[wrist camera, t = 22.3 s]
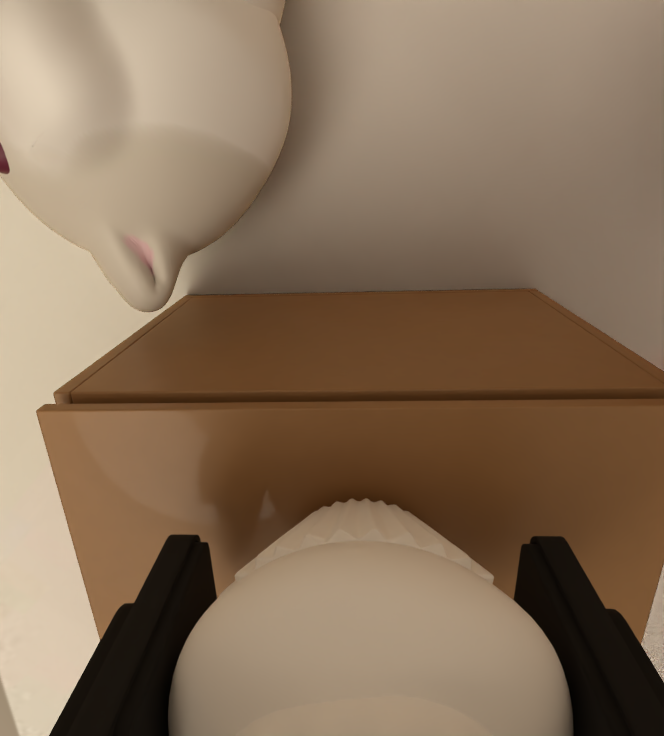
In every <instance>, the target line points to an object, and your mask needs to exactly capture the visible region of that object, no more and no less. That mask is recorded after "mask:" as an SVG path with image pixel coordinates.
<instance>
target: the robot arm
mask: <svg viewBox="0 0 664 736" xmlns="http://www.w3.org/2000/svg"><path fill="white" fill-rule="evenodd" d="M216 600H217V594H216V588H215V581H214V575H213V568H212V561H211V555H210V548H209V544H208V542H201V540H200V537H199V535H172V534H171V535H170V536H168V538H167V539H166V541H165V543H164V545H163V547H162V549H161V551H160V553H159V555H158V557H157V559H156V561H155V563H154V565H153V567H152V569H151V571H150V573H149V575H148V576H147V578H146V580H145V582H144V584H143V586H142V588H141V590H140V592H139V594H138V596H137V598H136V600H135V602H134V603H124V604H123V605H122V606H121V607H119V609H118V610H117V612H116V613H115V615H114V617H113V618H112V620H111V622H110V624H109V626H108V628H107V629H106V631H105V633H104V635H103V637H102V639H101V641H100V642H99V644H98V646H97V648H96V650H95V652H94V653H93V655H92V657H91V659H90V661H89V663H88V665H87V666H86V668H85V670H84V672H83V674H82V676H81V678H80V679H79V681H78V683H77V685H76V687H75V689H74V690H73V692H72V694H71V696H70V698H69V700H68V702H67V703H66V705H65V707H64V709H63V711H62V713H61V715H60V716H59V718H58V720H57V722H56V724H55V726H54V727H53V729H52V731H51V733H50V735H49V736H169V731H168V706H169V695H170V689H171V684H172V678H173V674H174V670H175V667H176V664H177V661H178V658H179V655H180V653H181V651H182V649H183V646H184V644H185V642H186V640H187V638H188V636H189V634H190V633H191V631H192V629H193V628H194V626H195V625H196V623H197V622H198V620H199V619H200V618H201V617H202V615H203V614H204V613H205V612H206V610H207V609H208V608H209V607H210V606H211V605H212V604H213V603H214V602H215V601H216ZM514 601H515V602H516V603H517V604H518V605H519V606H520V607H521V608H522V609H523V610H524V611H525V612H527V613H528V614H529V615H530V616H531V617H532V618H533V620H534V621H535V622H536V623H537V624H538V626H539V627H540V628H541V629H542V631H543V632H544V634H545V635H546V637H547V638H548V640H549V641H550V643H551V644H552V646H553V648H554V650H555V652H556V654H557V656H558V658H559V660H560V663H561V665H562V668H563V670H564V674H565V677H566V681H567V684H568V688H569V692H570V698H571V704H572V712H573V728H574V736H664V682H663V681H662V679H661V677H660V676H659V674H658V672H657V671H656V669H655V667H654V666H653V664H652V662H651V661H650V659H649V657H648V656H647V654H646V652H645V651H644V649H643V648H642V646H641V644H640V643H639V641H638V639H637V638H636V636H635V634H634V633H633V631H632V629H631V628H630V626H629V624H628V623H627V621H626V620H625V619H624V617H623V616H622V615H621V613H619V612H618V611H617V610H615V609H606V608H605V606H604V605H603V603H602V601H601V599H600V598H599V596H598V594H597V593H596V591H595V589H594V587H593V586H592V584H591V582H590V580H589V579H588V577H587V575H586V573H585V572H584V570H583V568H582V567H581V565H580V563H579V561H578V560H577V558H576V556H575V554H574V553H573V551H572V549H571V547H570V546H569V544H568V542H567V541H566V539H565V538H564V537H562V536H533V537H532V538H531V539H530V543H529V544H522V546H521V551H520V558H519V565H518V572H517V579H516V586H515V593H514Z"/></svg>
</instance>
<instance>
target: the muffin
mask: <svg viewBox="0 0 664 736" xmlns="http://www.w3.org/2000/svg"><path fill="white" fill-rule="evenodd" d="M493 580H494V576H493V575H492V574H491V573H490V572H488V571H487V570H486V569H484V568H483V567H482V566H480V565H479V564H478V563H477V562H475V561H474V560H473V559H471V558H470V557H469V556H468V555H467V554H466V553H465V552H463V551H462V550H461V549H459V548H458V547H457V546H455V545H454V544H452V543H451V542H450V541H448V540H447V539H445V538H444V537H443V536H441V535H440V534H439V533H437V532H436V531H435V530H433V529H432V528H431V527H429V526H428V525H427V524H425V523H424V522H422V521H421V520H420V519H418V518H417V517H416V516H414V515H413V514H411V513H410V512H409V511H403V510H402V509H401V508H399V507H398V506H397V505H394V504H393V505H386V504H385V503H384V502H383V501H381V500H380V501H377V502H372V501H370V500H369V499H367V498H365V499H363V500H362V501H356V500H354V499H349V500H348V501H347V502H345V503H342V502H338V501H336V502H335V503H333V505H332V506H331V507H327V506H323V507H321V508H320V509H319V510H318V511H314V512H313V513H311V514H310V515H309V516H308V517H306V518H305V519H304V520H303V521H301V522H300V523H299V524H297V525H296V526H295V527H293V528H292V529H291V530H289V531H288V532H286V533H285V534H284V535H282V536H281V537H280V538H279V539H277V540H276V541H275V542H274V543H272V544H271V545H270V546H269V547H267V548H266V549H265V550H264V551H262V552H261V553H260V554H258V556H257V557H256V558H254V559H253V560H252V561H250V562H249V563H248V564H247V565H245V566H244V567H243V568H242V569H240V570H239V571H238V572H237V573H236V574H235V581H234V582H233V583H232V584H231V585H230V586H228V587H227V588H226V589H225V590H224V591H223V592H222V593H221V594H220V595H219V598H218V599H217V600H216V601H215V602H214V603H213V604H212V605H211V606H210V607H209V608H208V609H207V610H206V612H205V613H204V614H203V615H202V617H201V618H200V619H199V620H198V622H197V623H196V625H195V626H194V628H193V629H192V631H191V633H190V634H189V636H188V638H187V640H186V642H185V644H184V646H183V649H182V651H181V653H180V655H179V658H178V661H177V664H176V667H175V670H174V674H173V678H172V684H171V689H170V695H169V706H168V731H169V736H574V728H573V712H572V704H571V698H570V692H569V688H568V684H567V681H566V677H565V674H564V670H563V668H562V665H561V663H560V660H559V658H558V656H557V654H556V652H555V650H554V648H553V646H552V644H551V643H550V641H549V640H548V638H547V637H546V635H545V634H544V632H543V631H542V629H541V628H540V627H539V626H538V624H537V623H536V622H535V621H534V620H533V618H532V617H531V616H530V615H529V614H528V613H527V612H525V611H524V610H523V609H522V608H521V607H520V606H519V605H518V604H517V603H516V602H515V601H514V600H512V599H511V598H510V597H509V596H507V595H506V594H505V593H504V592H502V591H501V590H500V589H498V588H497V587H496V586H494V585H493Z"/></svg>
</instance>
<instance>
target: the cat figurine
mask: <svg viewBox="0 0 664 736" xmlns="http://www.w3.org/2000/svg"><path fill="white" fill-rule="evenodd" d="M284 5H285V0H0V177H1V178H2V179H3V181H4V182H5V183H6V185H7V186H8V187H9V189H10V190H11V191H12V192H13V193H14V195H15V196H16V197H17V198H18V199H19V200H20V201H21V202H22V204H23V205H24V206H25V207H26V208H27V209H28V210H29V211H30V212H31V213H32V214H33V215H34V216H36V217H37V218H38V219H39V220H40V221H41V222H42V223H44V224H45V225H46V226H47V227H49V228H50V229H51V230H53V231H54V232H56V233H57V234H58V235H60V236H61V237H63V238H64V239H66V240H68V241H69V242H71V243H73V244H75V245H76V246H78V247H80V248H82V249H85V250H87V251H89V252H90V253H91V254H92V256H93V257H94V259H95V261H96V262H97V264H98V266H99V267H100V269H101V271H102V272H103V274H104V275H105V277H106V278H107V280H108V281H109V282H110V284H111V285H112V286H113V287H114V288H116V290H117V291H118V293H119V294H120V295H121V297H122V298H123V299H124V300H125V301H126V302H127V303H128V304H129V305H130V306H132V307H133V308H135V309H136V310H139V311H142V312H153V311H157V310H159V309H161V308H162V307H163V306H164V305H165V304H166V303H167V302H168V300H169V298H170V296H171V294H172V292H173V289H174V286H175V283H176V280H177V277H178V274H179V271H180V268H181V266H182V264H183V262H184V260H185V259H186V257H187V256H188V255H190V254H192V253H195V252H197V251H199V250H201V249H203V248H205V247H207V246H208V245H210V244H212V243H213V242H215V241H216V240H217V239H219V238H220V237H221V236H222V235H224V234H225V233H226V232H227V231H228V230H229V229H230V228H231V227H232V226H233V225H234V224H235V223H236V222H237V221H238V220H239V219H240V218H241V217H242V215H243V214H244V213H245V212H246V210H247V209H248V208H249V207H250V205H251V204H252V202H253V201H254V200H255V198H256V197H257V195H258V194H259V192H260V190H261V189H262V187H263V186H264V184H265V182H266V180H267V179H268V177H269V175H270V173H271V171H272V169H273V168H274V166H275V163H276V161H277V159H278V157H279V155H280V152H281V150H282V147H283V145H284V142H285V139H286V135H287V132H288V127H289V122H290V116H291V105H292V86H291V74H290V67H289V61H288V56H287V51H286V47H285V43H284V39H283V36H282V32H281V29H280V22H281V18H282V14H283V10H284Z"/></svg>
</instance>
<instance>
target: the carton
mask: <svg viewBox="0 0 664 736" xmlns="http://www.w3.org/2000/svg"><path fill="white" fill-rule="evenodd" d="M54 398H55V402H56V404H45V405H43V406H42V407H40V408H39V409H38V410H37V411H36V413H37V417H38V420H39V424H40V427H41V431H42V434H43V438H44V442H45V445H46V449H47V452H48V456H49V459H50V463H51V467H52V470H53V474H54V477H55V481H56V484H57V488H58V491H59V495H60V499H61V502H62V506H63V509H64V513H65V516H66V520H67V524H68V527H69V531H70V534H71V538H72V541H73V545H74V549H75V552H76V556H77V559H78V563H79V566H80V570H81V573H82V577H83V581H84V584H85V588H86V591H87V595H88V598H89V602H90V606H91V609H92V613H93V616H94V620H95V623H96V627H97V631H98V634H99V638H100V641H101V639H102V637H103V635H104V633H105V631H106V629H107V628H108V626H109V624H110V622H111V620H112V618H113V617H114V615H115V613H116V612H117V610H118V609H119V607H121V606H122V605H123V604H124V603H134V602H135V600H136V598H137V596H138V594H139V592H140V590H141V588H142V586H143V584H144V582H145V580H146V578H147V576H148V575H149V573H150V571H151V569H152V567H153V565H154V563H155V561H156V559H157V557H158V555H159V553H160V551H161V549H162V547H163V545H164V543H165V541H166V539H167V538H168V536H170V535H171V534H172V535H199V537H200V540H201V542H208V544H209V548H210V555H211V561H212V568H213V575H214V581H215V588H216V594H217V599H218V598H219V595H220V594H221V593H222V592H223V591H224V590H225V589H226V588H227V587H228V586H230V585H231V584H232V583H233V582H234V581H235V574H236V573H237V572H238V571H239V570H240V569H242V568H243V567H244V566H245V565H247V564H248V563H249V562H250V561H252V560H253V559H254V558H256V557H257V556H258V554H260V553H261V552H262V551H264V550H265V549H266V548H267V547H269V546H270V545H271V544H272V543H274V542H275V541H276V540H277V539H279V538H280V537H281V536H282V535H284V534H285V533H286V532H288V531H289V530H291V529H292V528H293V527H295V526H296V525H297V524H299V523H300V522H301V521H303V520H304V519H305V518H306V517H308V516H309V515H310V514H311V513H313V512H314V511H318V510H319V509H320V508H321V507H323V506H327V507H331V506H332V505H333V503H335V502H336V501H338V502H342V503H345V502H347V501H348V500H349V499H354V500H356V501H362V500H363V499H365V498H367V499H369V500H370V501H372V502H377V501H380V500H381V501H383V502H384V503H385V504H386V505H393V504H394V505H397V506H398V507H399V508H401V509H402V510H403V511H409V512H410V513H411V514H413V515H414V516H416V517H417V518H418V519H420V520H421V521H422V522H424V523H425V524H427V525H428V526H429V527H431V528H432V529H433V530H435V531H436V532H437V533H439V534H440V535H441V536H443V537H444V538H445V539H447V540H448V541H450V542H451V543H452V544H454V545H455V546H457V547H458V548H459V549H461V550H462V551H463V552H465V553H466V554H467V555H468V556H469V557H470V558H471V559H473V560H474V561H475V562H477V563H478V564H479V565H480V566H482V567H483V568H484V569H486V570H487V571H488V572H490V573H491V574H492V575H493V576H494V580H493V585H494V586H496V587H497V588H498V589H500V590H501V591H502V592H504V593H505V594H506V595H507V596H509V597H510V598H511V599H512V600H514V593H515V586H516V579H517V572H518V565H519V558H520V551H521V546H522V544H529V543H530V539H531V538H532V537H533V536H562V537H564V538H565V539H566V541H567V542H568V544H569V546H570V547H571V549H572V551H573V553H574V554H575V556H576V558H577V560H578V561H579V563H580V565H581V567H582V568H583V570H584V572H585V573H586V575H587V577H588V579H589V580H590V582H591V584H592V586H593V587H594V589H595V591H596V593H597V594H598V596H599V598H600V599H601V601H602V603H603V605H604V606H605V608H606V609H615V610H617V611H618V612H619V613H621V615H622V616H623V617H624V619H625V620H626V621H627V623H628V624H629V626H630V628H631V629H632V631H633V633H634V634H635V636H636V638H637V639H638V641H639V643H640V644H641V642H642V639H643V635H644V631H645V628H646V624H647V621H648V617H649V614H650V610H651V606H652V603H653V599H654V596H655V592H656V589H657V585H658V582H659V578H660V574H661V571H662V567H663V564H664V371H662V370H661V369H659V368H658V367H656V366H654V365H653V364H651V363H650V362H648V361H647V360H645V359H644V358H642V357H640V356H639V355H637V354H636V353H634V352H633V351H631V350H630V349H628V348H626V347H625V346H623V345H622V344H620V343H619V342H617V341H616V340H614V339H612V338H611V337H609V336H608V335H606V334H605V333H603V332H602V331H600V330H599V329H597V328H595V327H594V326H592V325H591V324H589V323H588V322H586V321H585V320H583V319H581V318H580V317H578V316H577V315H575V314H574V313H572V312H571V311H569V310H567V309H566V308H564V307H563V306H561V305H560V304H558V303H557V302H555V301H553V300H552V299H550V298H549V297H547V296H546V295H544V294H543V293H541V292H539V291H538V290H536V289H487V290H436V291H385V292H335V293H284V294H233V295H186V296H184V297H183V298H182V299H180V300H179V301H178V302H176V303H175V304H173V305H172V306H171V307H169V308H168V309H167V310H165V311H164V312H163V313H161V314H160V315H158V316H157V317H156V318H154V319H153V320H152V321H150V322H149V323H148V324H146V325H145V326H143V327H142V328H141V329H139V330H138V331H137V332H135V333H134V334H133V335H131V336H130V337H129V338H127V339H126V340H124V341H123V342H122V343H120V344H119V345H118V346H116V347H115V348H114V349H112V350H111V351H109V352H108V353H107V354H105V355H104V356H103V357H101V358H100V359H99V360H97V361H96V362H94V363H93V364H92V365H90V366H89V367H88V368H86V369H85V370H84V371H82V372H81V373H80V374H78V375H77V376H75V377H74V378H73V379H71V380H70V381H69V382H67V383H66V384H65V385H63V386H62V387H60V388H59V389H58V390H56V391H55V392H54Z"/></svg>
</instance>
